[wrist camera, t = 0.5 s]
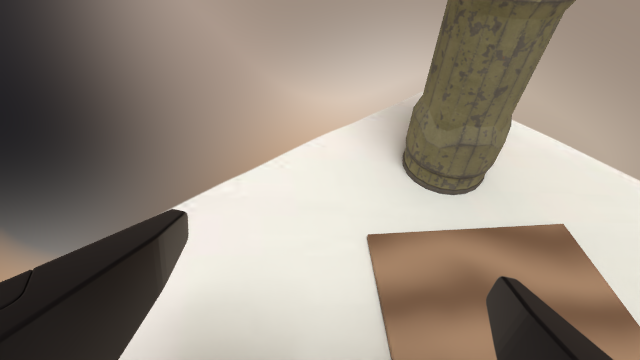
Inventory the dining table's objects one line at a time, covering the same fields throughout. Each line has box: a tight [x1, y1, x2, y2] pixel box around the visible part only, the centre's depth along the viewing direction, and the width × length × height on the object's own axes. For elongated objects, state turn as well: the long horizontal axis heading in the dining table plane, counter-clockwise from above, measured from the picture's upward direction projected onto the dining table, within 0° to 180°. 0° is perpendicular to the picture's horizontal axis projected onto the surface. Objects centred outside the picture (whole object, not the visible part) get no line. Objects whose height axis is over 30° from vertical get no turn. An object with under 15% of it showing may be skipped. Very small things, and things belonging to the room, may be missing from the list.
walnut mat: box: [367, 224, 640, 360], centre depth 24 cm, size 14×18×1 cm
